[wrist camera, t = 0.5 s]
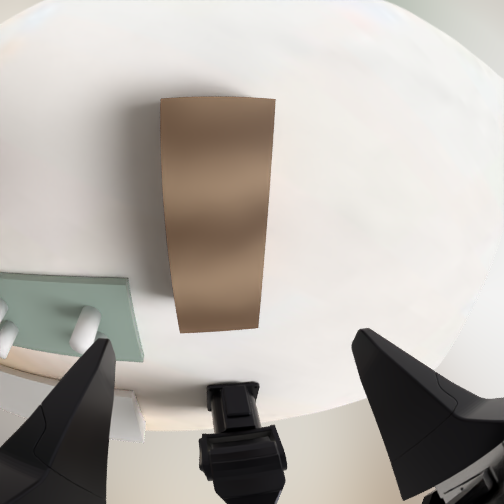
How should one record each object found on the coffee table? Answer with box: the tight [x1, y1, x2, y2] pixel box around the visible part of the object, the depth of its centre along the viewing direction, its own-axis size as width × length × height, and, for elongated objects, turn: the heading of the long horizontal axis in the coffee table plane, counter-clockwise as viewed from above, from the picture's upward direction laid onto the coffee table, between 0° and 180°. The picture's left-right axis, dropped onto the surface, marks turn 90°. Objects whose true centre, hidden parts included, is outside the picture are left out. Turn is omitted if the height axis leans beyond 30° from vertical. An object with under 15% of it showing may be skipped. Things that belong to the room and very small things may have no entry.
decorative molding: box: [0, 365, 146, 443], centre depth 27 cm, size 34×5×10 cm
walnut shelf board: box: [160, 97, 276, 333], centre depth 18 cm, size 16×6×4 cm, turn 177°
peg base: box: [0, 273, 144, 362], centre depth 19 cm, size 10×20×5 cm, turn 83°
